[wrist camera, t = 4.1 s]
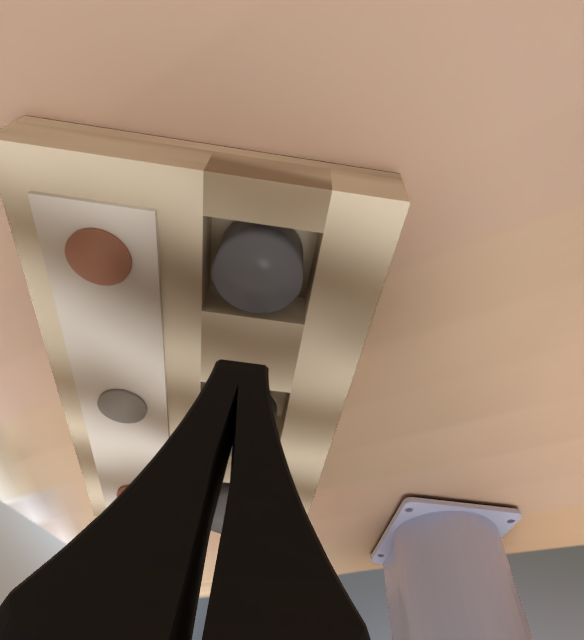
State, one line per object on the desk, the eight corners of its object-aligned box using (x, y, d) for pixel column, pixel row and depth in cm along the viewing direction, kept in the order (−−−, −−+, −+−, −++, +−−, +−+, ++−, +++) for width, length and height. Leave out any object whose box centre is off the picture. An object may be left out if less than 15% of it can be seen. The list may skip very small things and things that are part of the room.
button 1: (297, 292, 18) (295, 318, 17) (218, 281, 18) (211, 307, 17) (309, 221, 16) (309, 244, 15) (222, 208, 16) (213, 231, 15)
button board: (301, 501, 30) (300, 543, 28) (108, 480, 29) (91, 521, 27) (399, 173, 16) (412, 207, 14) (25, 115, 15) (-24, 141, 13)
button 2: (258, 510, 27) (256, 537, 26) (207, 504, 27) (201, 532, 26) (263, 482, 25) (261, 510, 24) (208, 476, 25) (202, 504, 24)
